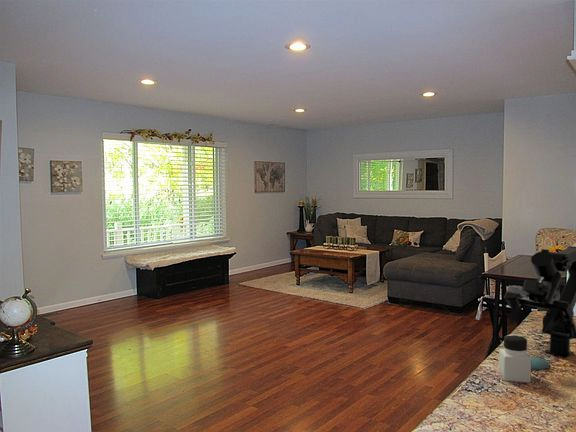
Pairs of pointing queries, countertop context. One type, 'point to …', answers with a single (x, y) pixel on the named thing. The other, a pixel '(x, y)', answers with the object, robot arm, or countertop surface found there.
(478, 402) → the countertop surface
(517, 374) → the medicine bottle
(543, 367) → the coaster
